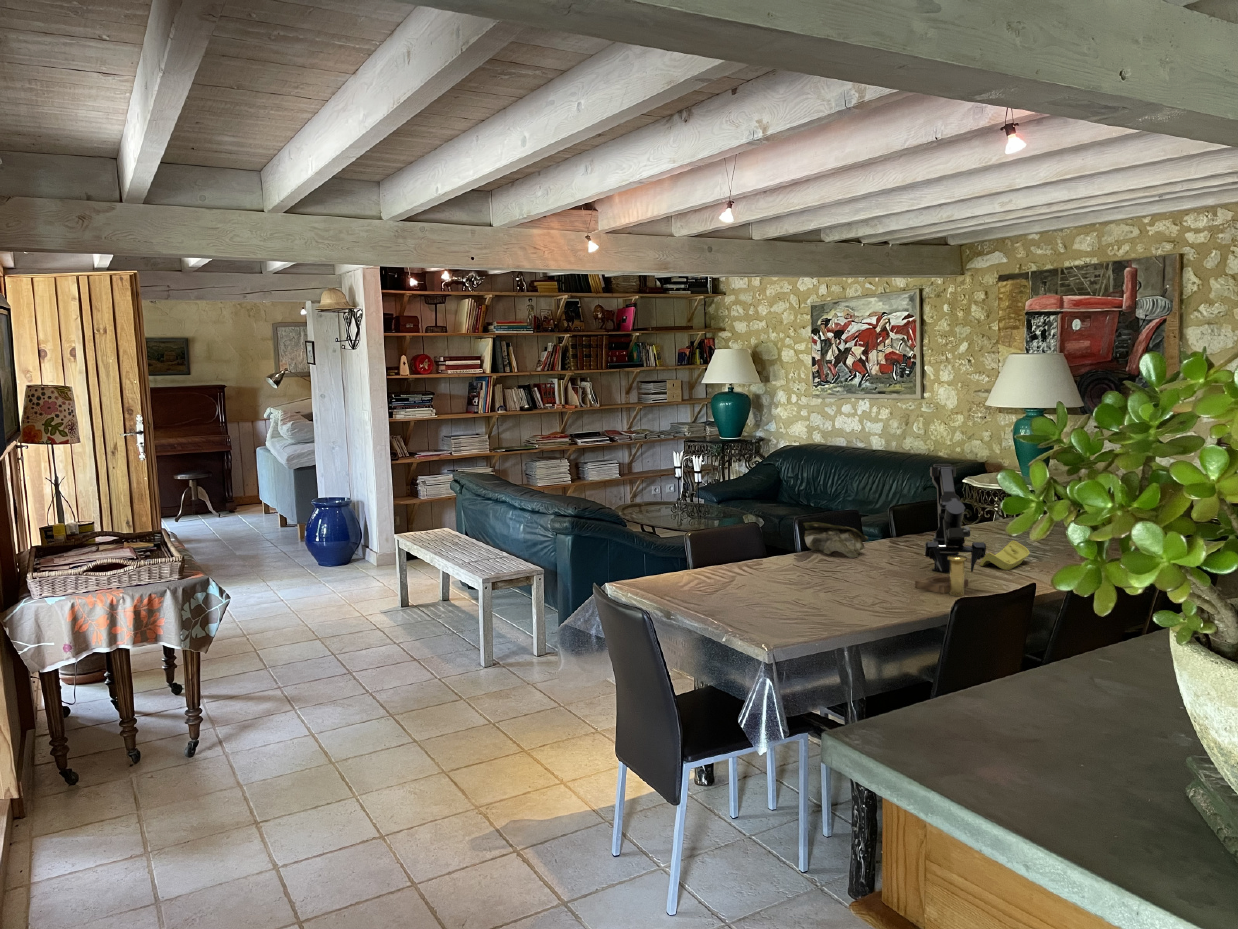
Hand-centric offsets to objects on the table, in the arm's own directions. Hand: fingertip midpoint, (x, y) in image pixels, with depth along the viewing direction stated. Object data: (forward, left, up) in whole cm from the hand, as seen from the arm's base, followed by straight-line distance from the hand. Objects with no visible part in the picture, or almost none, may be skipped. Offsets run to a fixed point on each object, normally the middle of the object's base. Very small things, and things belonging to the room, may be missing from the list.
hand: (957, 571), depth 291 cm
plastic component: (-12, +50, -8) cm, 53 cm away
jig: (-9, +5, -8) cm, 13 cm away
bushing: (0, 0, -8) cm, 8 cm away
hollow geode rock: (-70, +22, -8) cm, 74 cm away
